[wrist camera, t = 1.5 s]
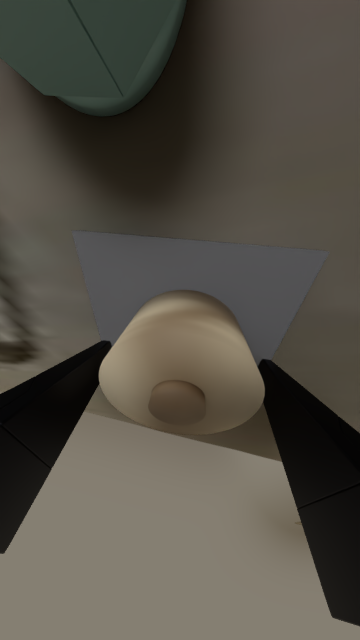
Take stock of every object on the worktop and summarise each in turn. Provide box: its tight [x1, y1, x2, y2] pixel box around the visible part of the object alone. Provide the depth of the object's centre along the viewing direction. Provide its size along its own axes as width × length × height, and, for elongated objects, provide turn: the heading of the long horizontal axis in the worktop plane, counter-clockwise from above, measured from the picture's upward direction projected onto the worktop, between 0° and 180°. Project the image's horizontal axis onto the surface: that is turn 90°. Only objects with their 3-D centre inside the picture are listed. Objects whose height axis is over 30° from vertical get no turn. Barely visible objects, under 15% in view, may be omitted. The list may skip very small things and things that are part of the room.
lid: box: [99, 290, 265, 435], centre depth 8 cm, size 7×7×5 cm
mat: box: [72, 230, 329, 367], centre depth 10 cm, size 12×12×1 cm
